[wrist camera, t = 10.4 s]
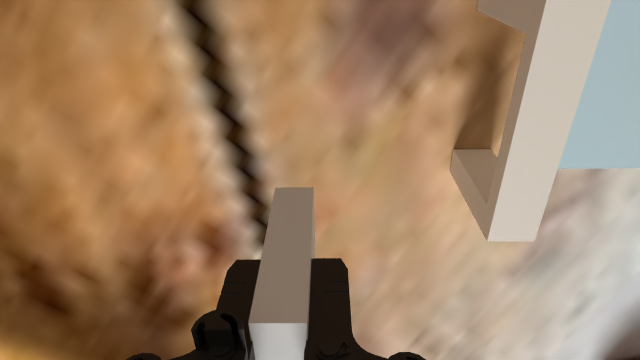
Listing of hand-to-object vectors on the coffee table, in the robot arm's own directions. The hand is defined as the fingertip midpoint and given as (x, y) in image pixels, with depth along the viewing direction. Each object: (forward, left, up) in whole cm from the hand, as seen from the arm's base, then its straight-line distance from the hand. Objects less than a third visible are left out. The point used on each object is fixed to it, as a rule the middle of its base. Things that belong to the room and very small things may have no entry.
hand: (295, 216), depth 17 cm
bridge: (+13, 0, -16) cm, 21 cm away
